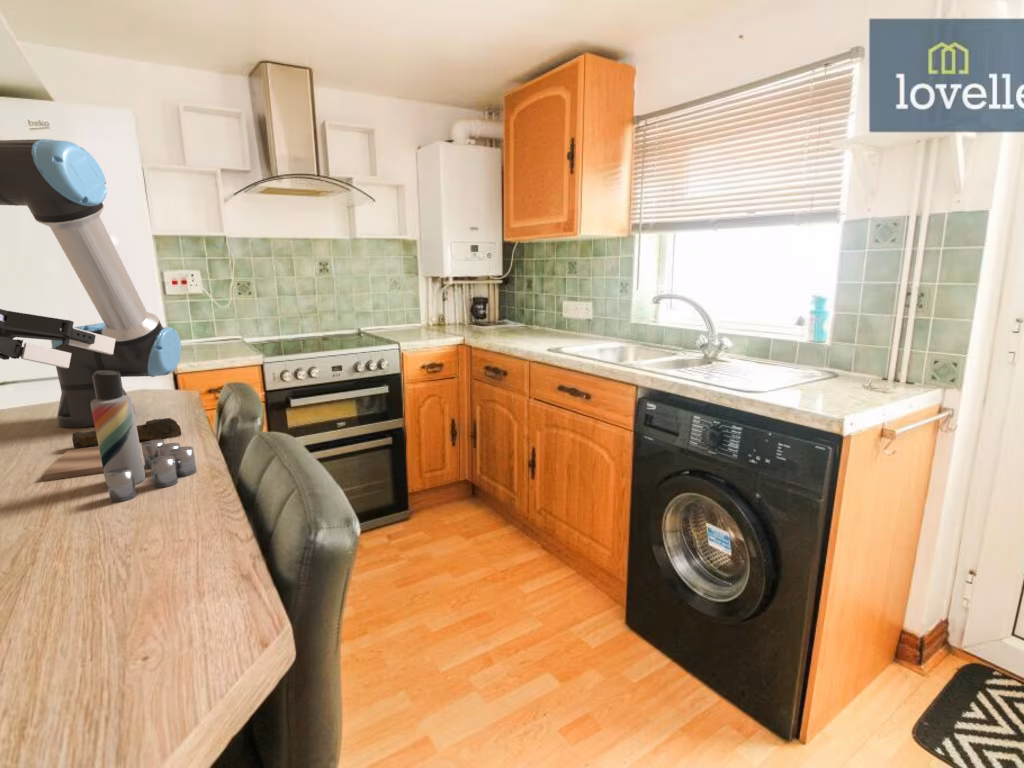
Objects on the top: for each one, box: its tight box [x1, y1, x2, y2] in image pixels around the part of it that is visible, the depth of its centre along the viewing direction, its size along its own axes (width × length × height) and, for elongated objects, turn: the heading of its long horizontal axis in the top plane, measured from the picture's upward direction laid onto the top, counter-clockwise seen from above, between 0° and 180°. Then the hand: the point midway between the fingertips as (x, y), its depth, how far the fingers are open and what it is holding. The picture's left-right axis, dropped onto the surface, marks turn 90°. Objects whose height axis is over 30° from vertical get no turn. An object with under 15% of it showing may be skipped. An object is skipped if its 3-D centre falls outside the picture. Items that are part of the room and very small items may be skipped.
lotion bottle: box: [91, 370, 146, 485], centre depth 93 cm, size 6×6×20 cm
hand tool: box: [71, 417, 182, 449], centre depth 115 cm, size 19×4×5 cm, turn 113°
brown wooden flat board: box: [42, 446, 104, 482], centre depth 104 cm, size 14×11×1 cm
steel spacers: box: [104, 439, 197, 503], centre depth 97 cm, size 18×12×4 cm, turn 24°
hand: (90, 354), depth 93 cm, fingers open, 13 cm apart
